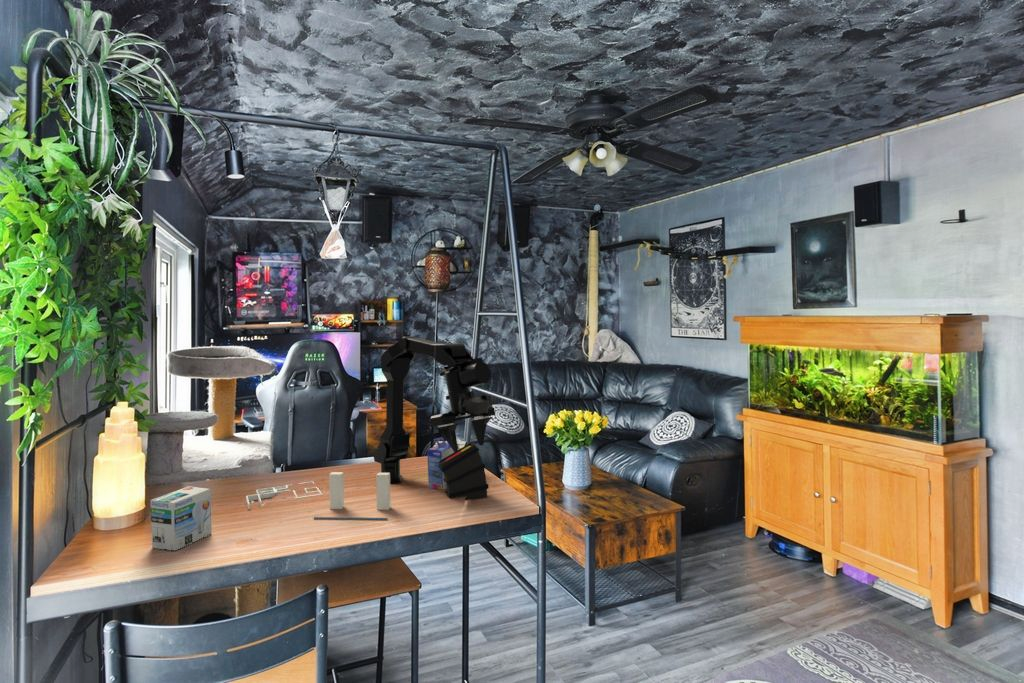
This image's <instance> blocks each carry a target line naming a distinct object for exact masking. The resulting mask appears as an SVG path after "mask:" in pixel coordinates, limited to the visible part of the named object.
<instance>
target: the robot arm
mask: <svg viewBox="0 0 1024 683" xmlns="http://www.w3.org/2000/svg"><path fill="white" fill-rule="evenodd" d="M466 348H467V347H466V346H465V345H464V344H463V343H462V342H455V343H454V342H453V343H451V342H450V343H447V342H446V343H441V342H437V341H433V340H429V339H424V338H420V337H417V336H414V335H412V336H409V335H408V336H402V337H401V338H400V339H399V340H398V341H397V342H395V343H394V344H393V345H391V346H390V347H388V348H386V350H385V351H384V352H383V354H381V355H380V356H381V357H380V367H381V373H382V374H383V375H384V378H385V379H386V411H385V412H386V415H385V418H386V419H385V423H386V424H385V429H384V430H383V432H382V433H381V436H380V439H379V446H378V448H377V449H376V450H375V452H374V453H373V455H372V456H373V460H374V462H375V463H378V464H380V473H390V484H393V483H401V482H402V479H403V474H401V460H406V459H407V456H408V452H409V448H411V444H410V439H411V436H410V434H409V433H407V432H406V430H405V428H404V400H405V399H404V398H405V396H404V394H405V391H404V390H405V389H404V388H405V379H406V377H407V376H408V374H409V372H410V370H411V362H412V361H413V360H414V359H415V358H416V355H417V354H419V355H424V356H427V357H431V358H432V359H433V360H434V361H435V362H436V363H437V364H440V365H442V366H443V368H442V370H441V371H440V372H439V376H440V377H444V378H445V381H446V388H447V393H448V394H447V395H445V400H446V401H447V400H449V404H450V411H448V412H446V413H440V414H436V415H431V417H430V419H429V425H430V428H434V427H435V428H434V430H435V431H438V432H439V433H440V435H441V437H443V439H444V440H445V441H447V442H448V444H449V445H450V447H451V448H452V449H453V451H454V452H457V451H458V446H457V441H458V440H457V434H456V429H457V426H458V423H455V422H456V421H460V420H462V421H463V420H465V419H471V418H472V419H473V420H470V422H471V426H472V428H473V431H474V434H475V437H476V440H477V443H478V446H480V447H481V446H484V442H485V436H486V428H487V426H488V424H489V422H490V421H491V420H492V419H493V416H495V415H496V410H495V407H494V406H493V399H492V396H491V394H488V393H485V394H484V393H483V394H482V395H481V396H479V397H478V396H476V395H475V392H474V390H472V391H471V390H470V388H472V387H475V386H480V385H484V384H487V383H488V382H489V381H490V380H491V378H492V372H491V369H490V366H489V365H488V364H487V363H485V362H484V360H483V357H475V358H474V357H473V356H472V355H471V354H470V352H469V351H468V349H466Z"/></svg>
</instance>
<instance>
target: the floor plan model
mask: <svg viewBox="0 0 1024 683" xmlns="http://www.w3.org/2000/svg"><path fill="white" fill-rule="evenodd" d="M298 484H302V485H304V484H305V485H309V484H314V485H315V483H314V481H312V480H311V481H307V482H306V481H305V482H300V483H298ZM292 485H293V484H284V485H279V486H272V487H271V486H270V487H265V488H258V489H256V491H255V494H249V495H246V496H245V502H246V506H247V508H248V510H250V509H251V505H250V503H251V504H255V501H257V502H258V504H259V507H260V508H261V507H262V506H264V505H265V503H263V504H262V499H263V500H264V499H265V502H267V501H268V500H269V501H271V498H275V497H276V496H278V495H279V494H281V493H284V492H291V489H288V488H289V487H291V486H292ZM315 488H316V490H313V491H308V490H310V489H315ZM303 490H304V491H305V493H306V494H310V493H317V492H318V493H317V494H311V495H304V496H299V497H298V495H297V492H296V491H295V489H294V490H292V492H293V494H294V495H295V497H294V500H295V499H303V498H304V499H305V498H310V497H315V496H323V493H322V492H321V490H320V489H319V488H318V486H315V487H304V488H303Z"/></svg>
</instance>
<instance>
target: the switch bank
mask: <svg viewBox="0 0 1024 683" xmlns="http://www.w3.org/2000/svg"><path fill="white" fill-rule="evenodd" d="M313 520H337V521H341V520H342V521H348V520H350V521H351V520H352V521H353V520H355V521H388V517H359V516H358V517H353V516H352V517H351V516H350V517H347V516H340V517H339V516H314V517H313Z"/></svg>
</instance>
